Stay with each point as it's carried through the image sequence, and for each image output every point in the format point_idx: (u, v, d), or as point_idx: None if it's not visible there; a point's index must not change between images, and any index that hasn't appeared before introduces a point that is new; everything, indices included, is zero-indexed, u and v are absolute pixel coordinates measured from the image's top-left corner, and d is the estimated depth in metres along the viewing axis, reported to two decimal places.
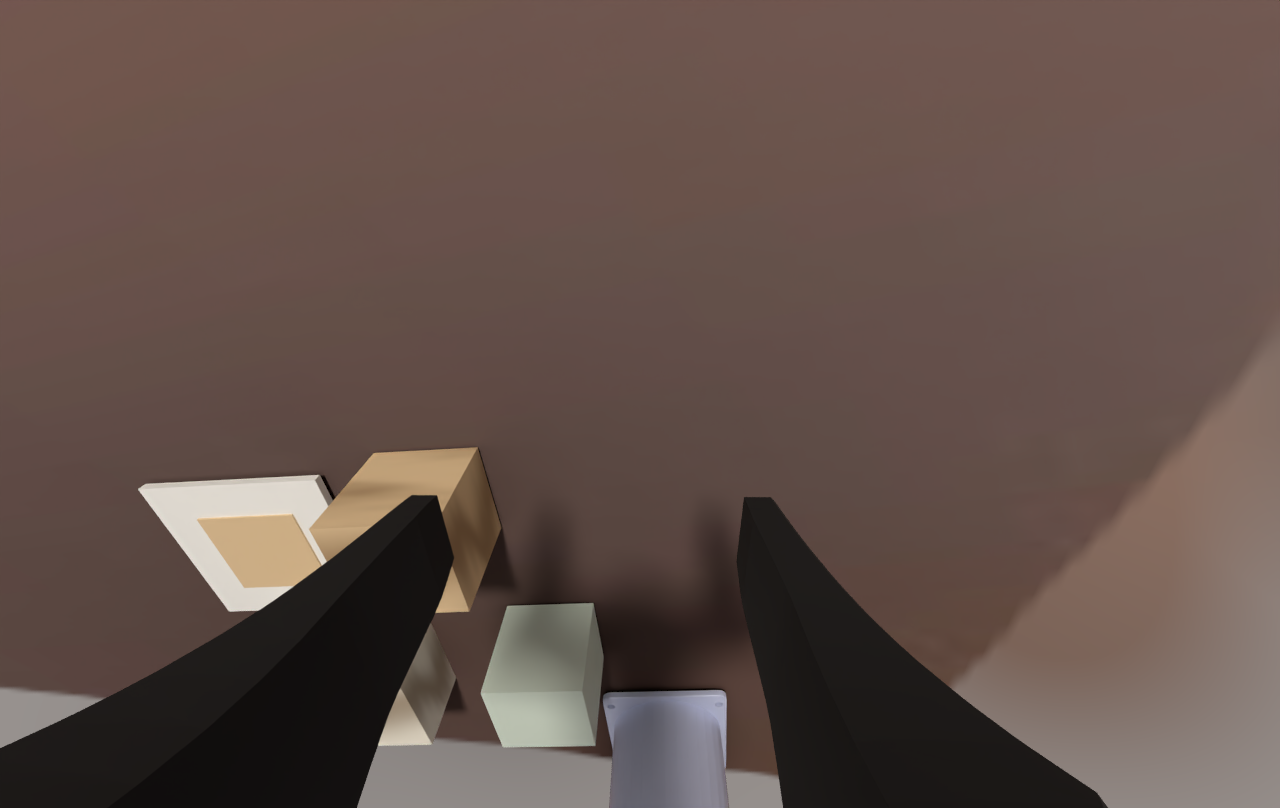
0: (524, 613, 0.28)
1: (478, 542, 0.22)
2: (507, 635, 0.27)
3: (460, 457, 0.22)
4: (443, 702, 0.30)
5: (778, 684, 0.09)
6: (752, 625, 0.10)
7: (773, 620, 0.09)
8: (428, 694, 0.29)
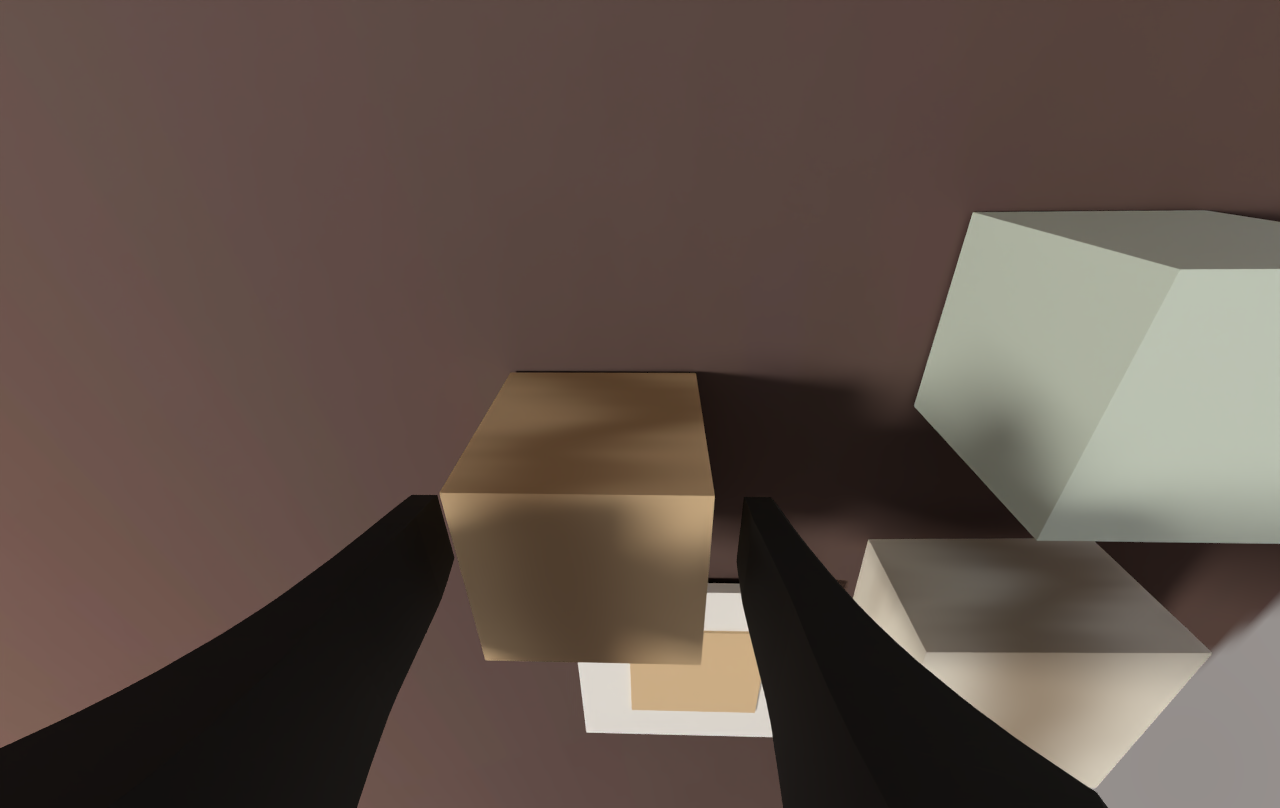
0: (935, 378, 0.12)
1: (634, 423, 0.11)
2: (956, 427, 0.12)
3: None
4: (1123, 583, 0.14)
5: (778, 684, 0.09)
6: (752, 625, 0.10)
7: (773, 620, 0.09)
8: (1066, 605, 0.14)
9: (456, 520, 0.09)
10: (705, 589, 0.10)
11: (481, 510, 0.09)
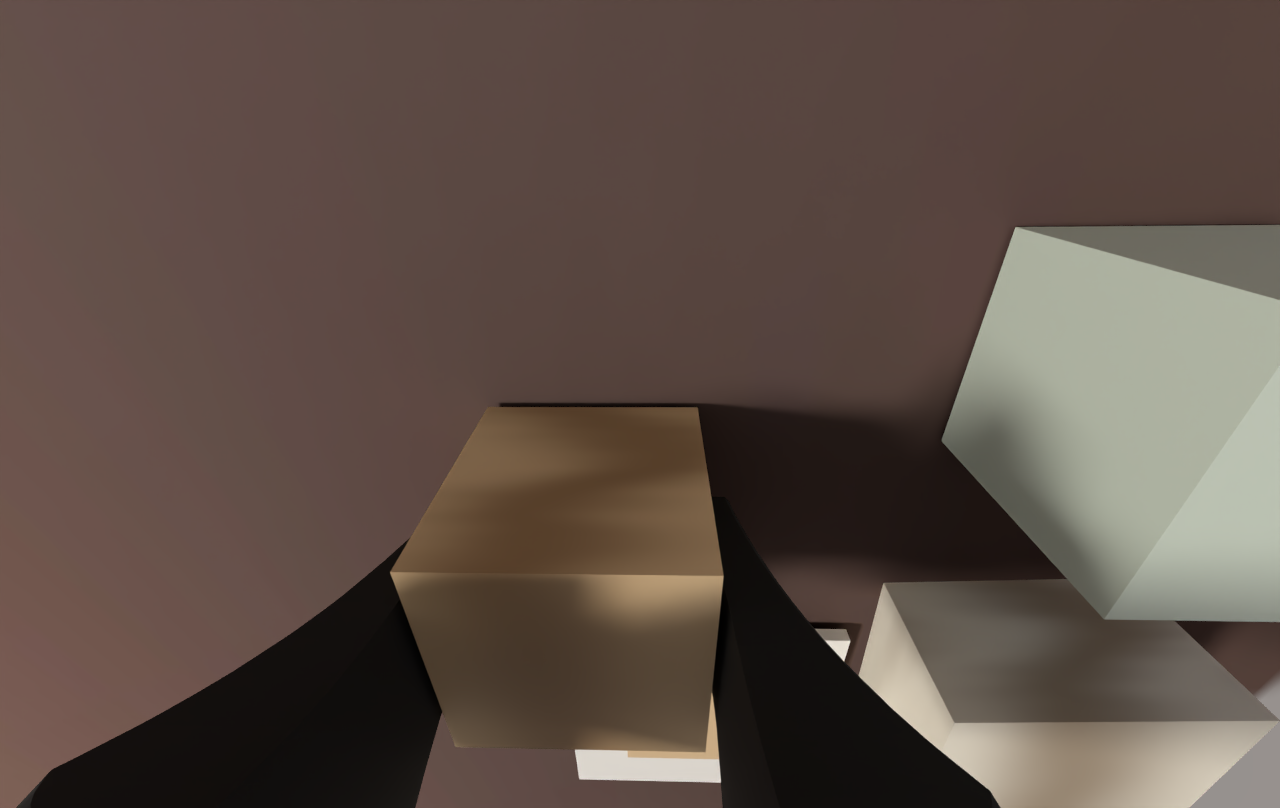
0: (968, 412, 0.11)
1: (627, 474, 0.09)
2: (995, 471, 0.10)
3: None
4: (1170, 634, 0.13)
5: (720, 683, 0.09)
6: None
7: None
8: (1107, 662, 0.12)
9: (411, 601, 0.08)
10: (711, 675, 0.08)
11: (441, 591, 0.08)
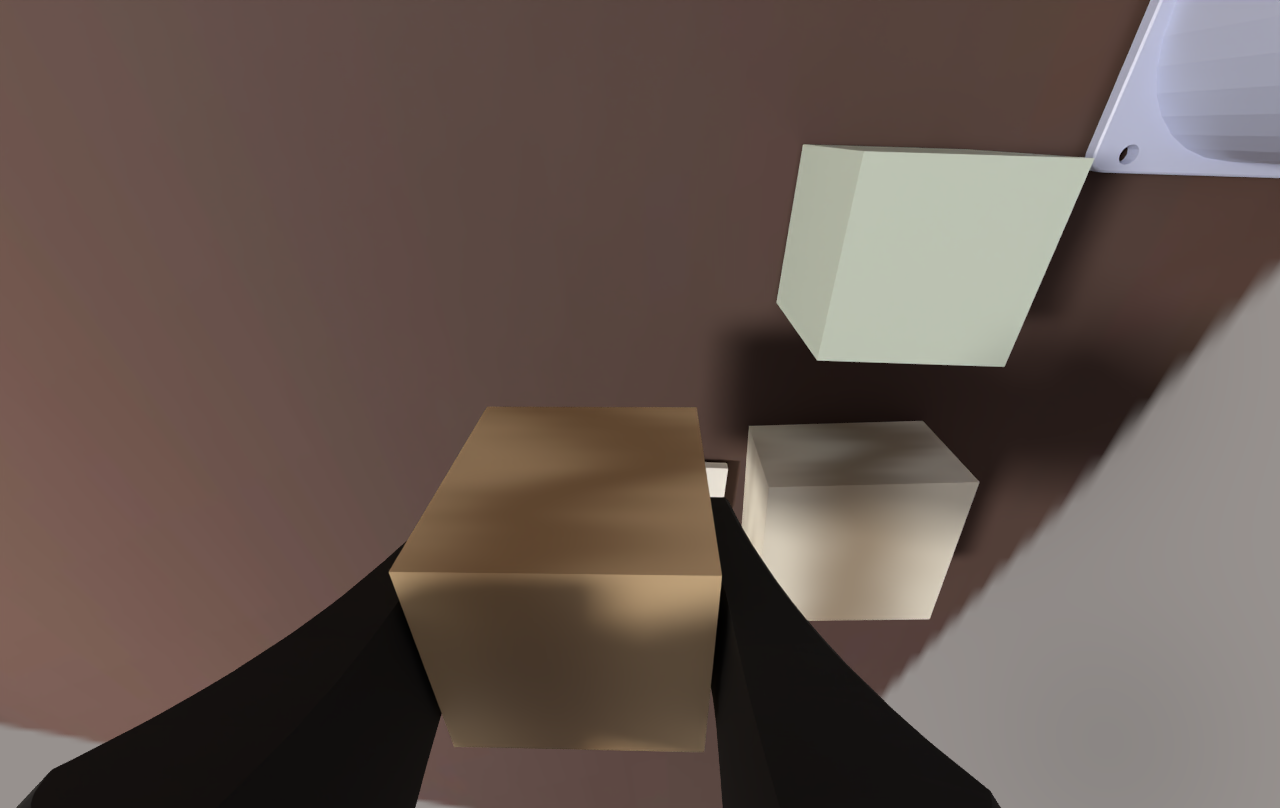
0: (785, 274, 0.16)
1: (626, 473, 0.09)
2: (792, 305, 0.16)
3: None
4: (934, 446, 0.18)
5: (720, 683, 0.09)
6: None
7: None
8: (884, 459, 0.18)
9: (410, 600, 0.08)
10: (709, 675, 0.08)
11: (440, 591, 0.08)
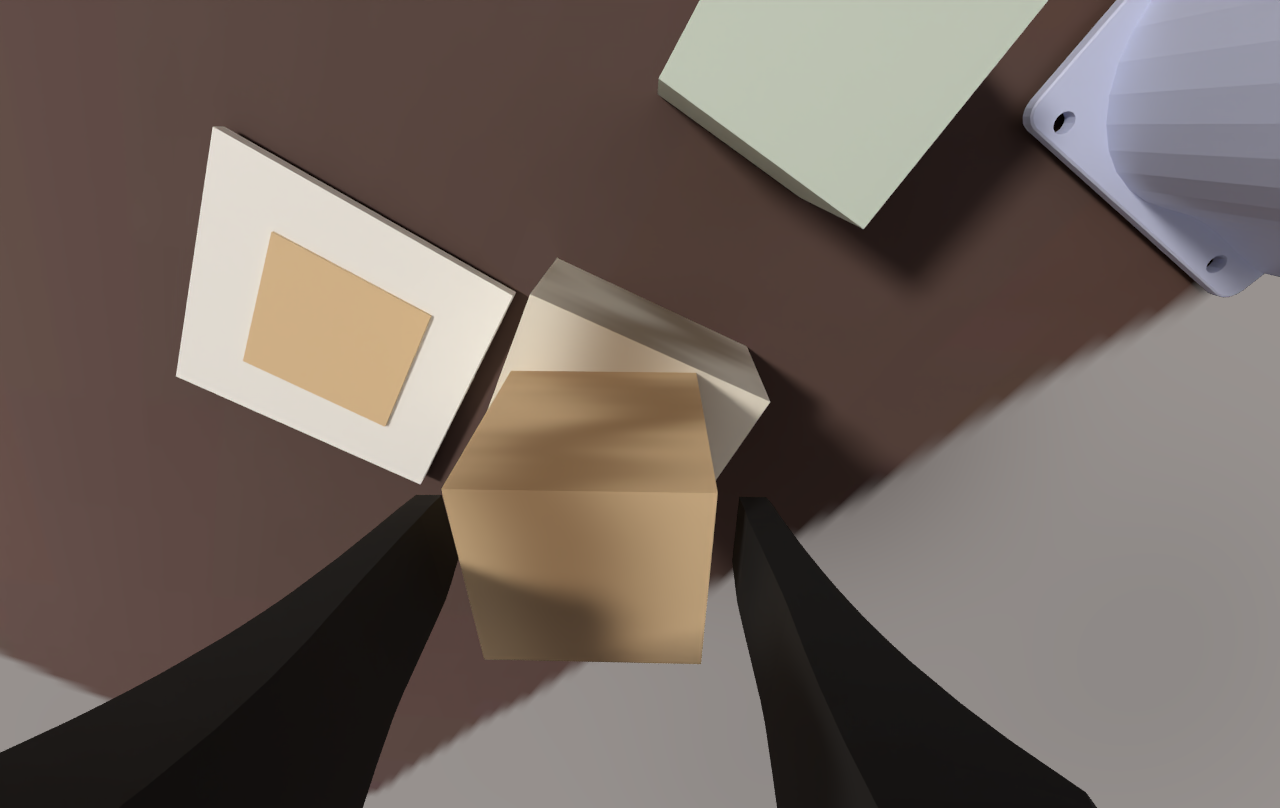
0: None
1: (636, 421, 0.11)
2: None
3: None
4: (744, 362, 0.15)
5: (772, 684, 0.09)
6: (747, 625, 0.10)
7: (767, 620, 0.09)
8: (684, 344, 0.14)
9: (457, 516, 0.09)
10: (706, 587, 0.10)
11: (482, 507, 0.09)
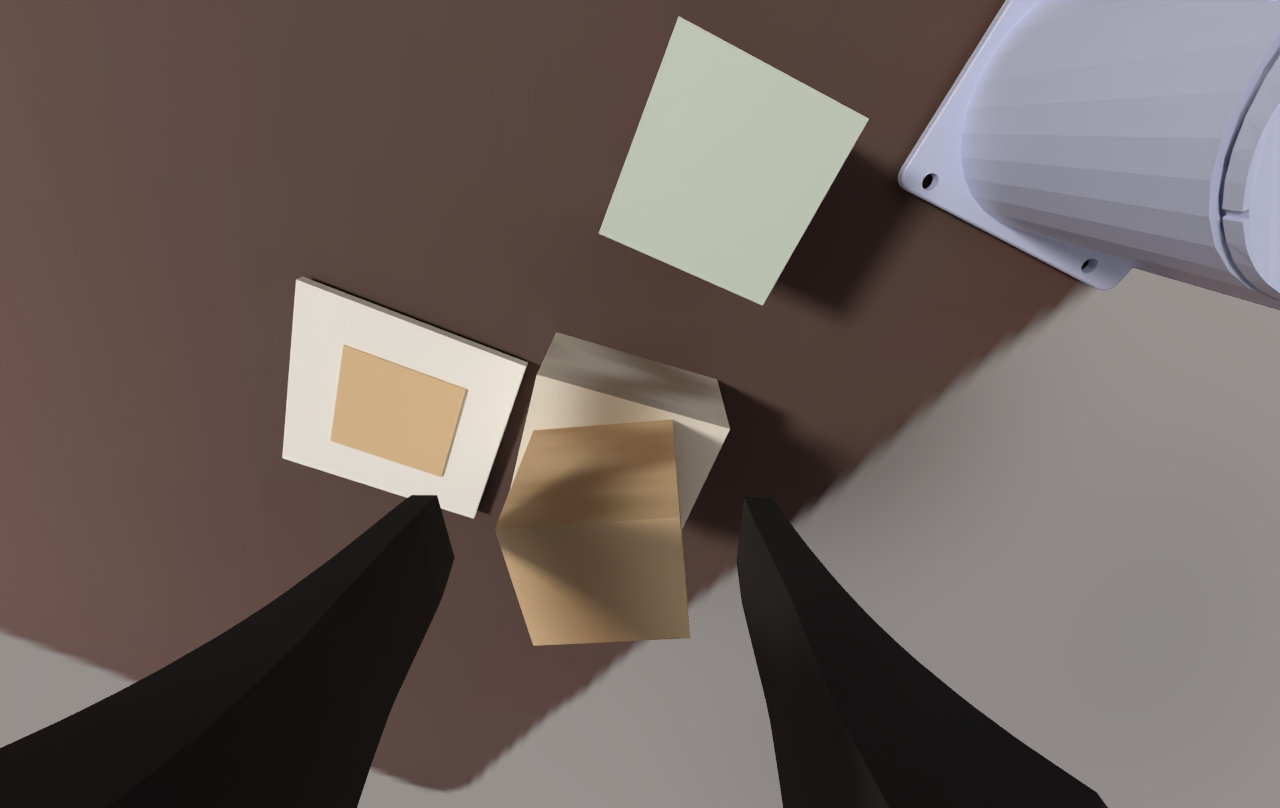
0: None
1: (625, 466, 0.15)
2: None
3: None
4: (711, 396, 0.19)
5: (778, 684, 0.09)
6: (752, 625, 0.10)
7: (773, 620, 0.09)
8: (660, 390, 0.18)
9: (506, 546, 0.14)
10: (684, 581, 0.14)
11: (523, 539, 0.13)
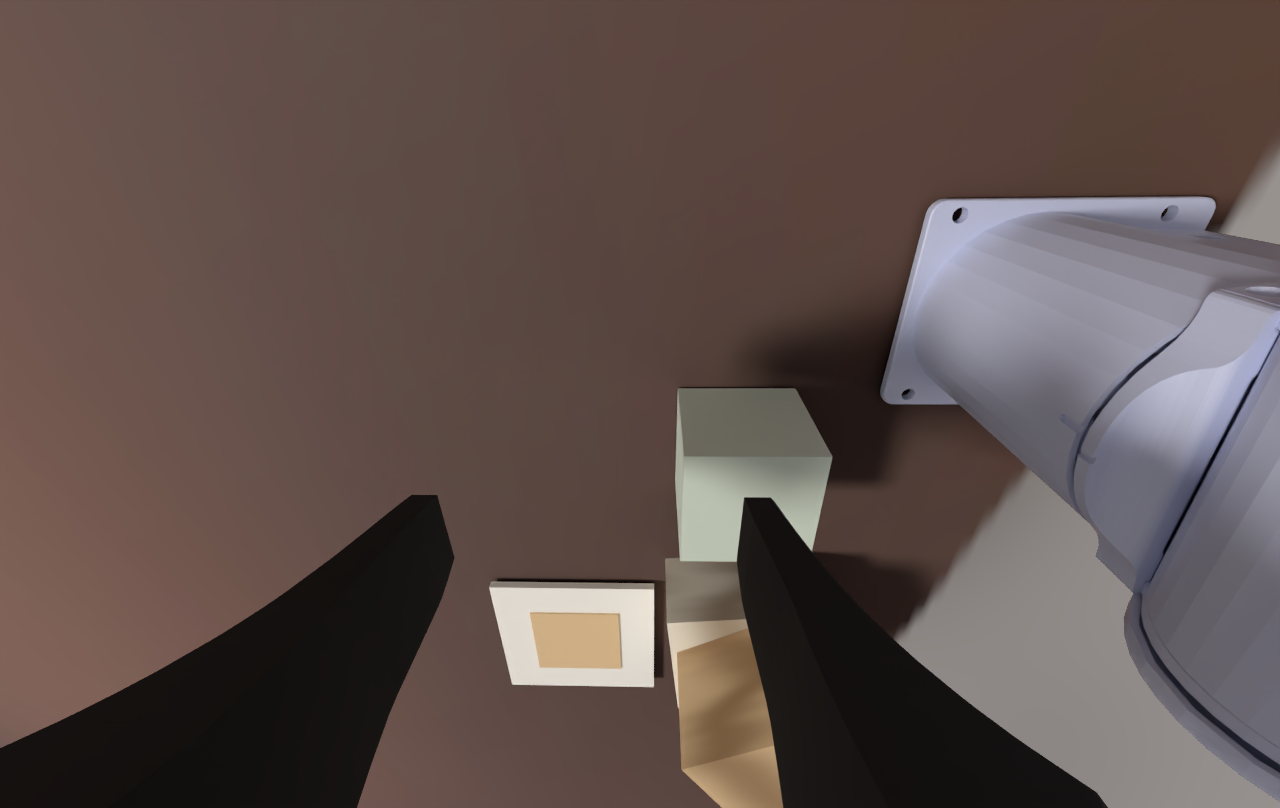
0: (676, 468, 0.22)
1: (751, 685, 0.21)
2: (677, 498, 0.22)
3: None
4: None
5: (778, 684, 0.09)
6: (752, 625, 0.10)
7: (773, 620, 0.09)
8: None
9: (693, 775, 0.20)
10: None
11: (702, 770, 0.20)
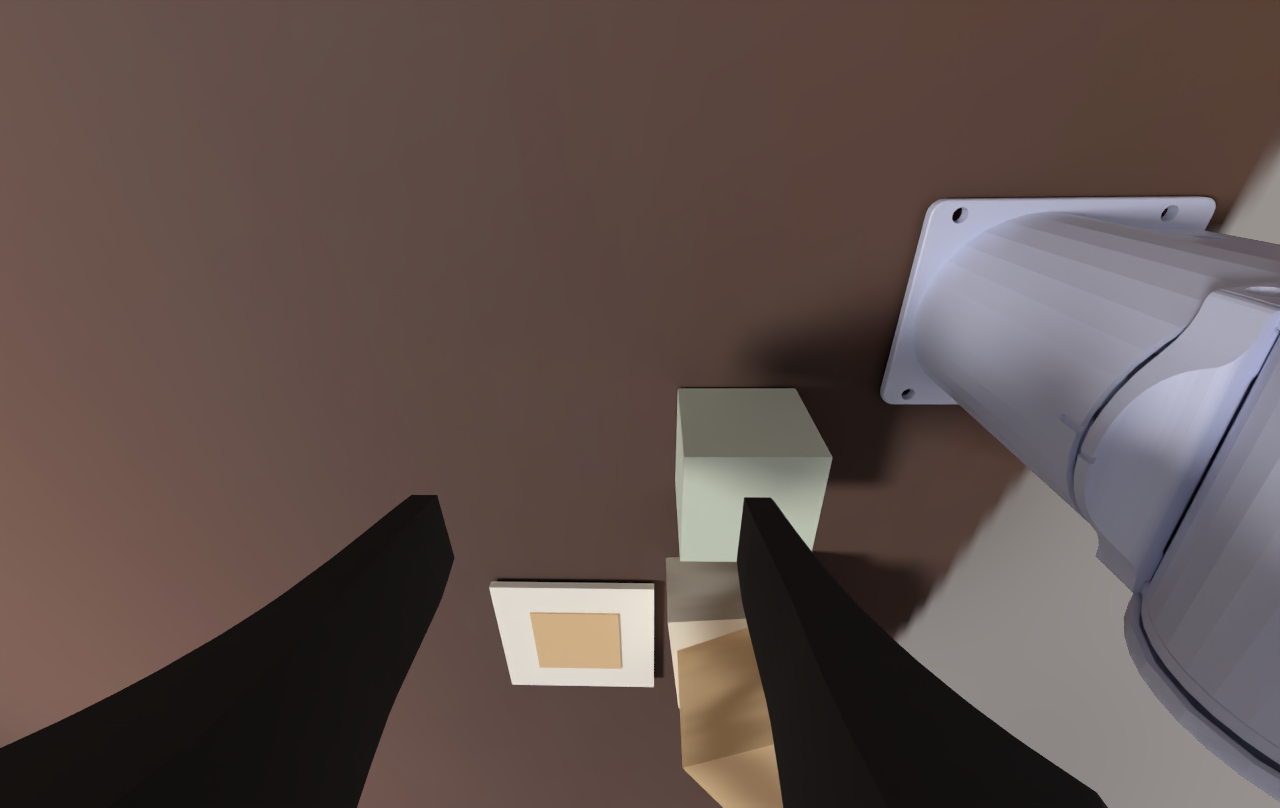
0: (676, 468, 0.22)
1: (752, 683, 0.21)
2: (677, 498, 0.22)
3: None
4: None
5: (778, 684, 0.09)
6: (752, 625, 0.10)
7: (773, 620, 0.09)
8: None
9: (694, 774, 0.20)
10: None
11: (703, 768, 0.19)
